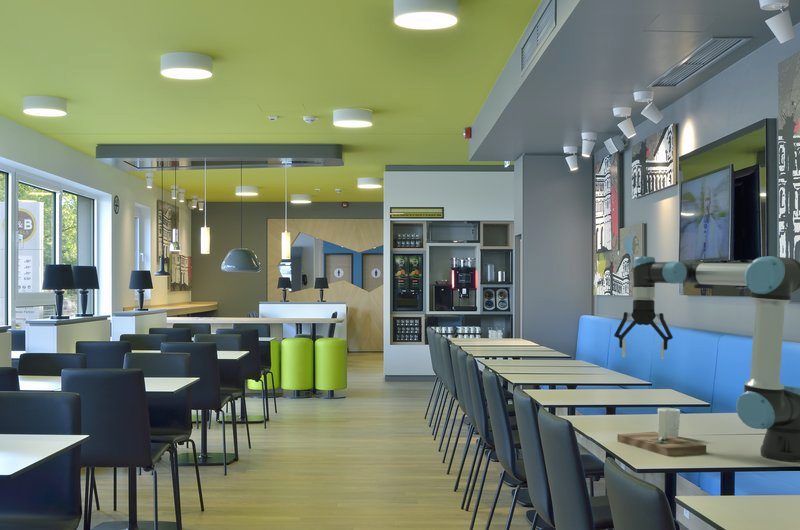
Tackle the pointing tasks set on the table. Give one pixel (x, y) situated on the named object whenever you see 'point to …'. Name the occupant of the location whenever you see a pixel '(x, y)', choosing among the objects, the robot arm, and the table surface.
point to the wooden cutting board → (661, 443)
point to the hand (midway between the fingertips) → (643, 358)
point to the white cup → (672, 421)
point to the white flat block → (663, 424)
